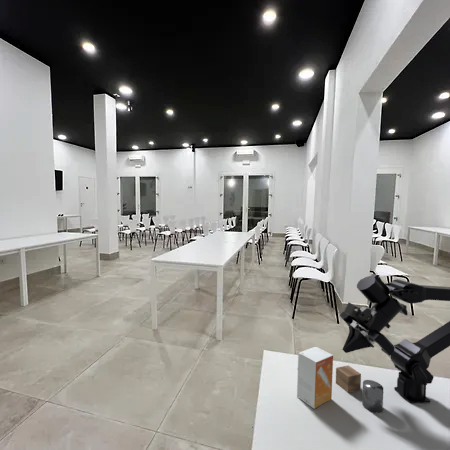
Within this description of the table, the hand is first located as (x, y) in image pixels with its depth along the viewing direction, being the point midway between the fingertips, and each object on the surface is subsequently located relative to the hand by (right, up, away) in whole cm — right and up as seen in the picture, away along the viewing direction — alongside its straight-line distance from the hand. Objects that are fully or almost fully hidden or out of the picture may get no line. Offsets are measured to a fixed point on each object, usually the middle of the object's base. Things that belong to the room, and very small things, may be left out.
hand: (344, 351), depth 76 cm
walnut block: (+4, -14, +5) cm, 15 cm away
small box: (-9, -14, -1) cm, 16 cm away
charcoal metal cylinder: (+6, -14, -3) cm, 16 cm away
